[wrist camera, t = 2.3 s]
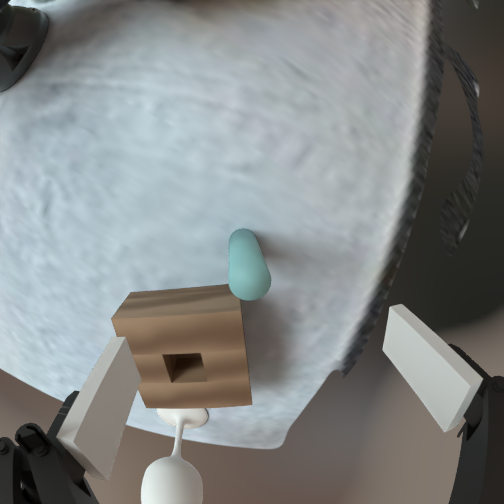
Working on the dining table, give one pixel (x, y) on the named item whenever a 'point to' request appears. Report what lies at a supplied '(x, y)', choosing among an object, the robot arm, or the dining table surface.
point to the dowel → (247, 267)
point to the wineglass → (175, 465)
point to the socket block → (187, 347)
